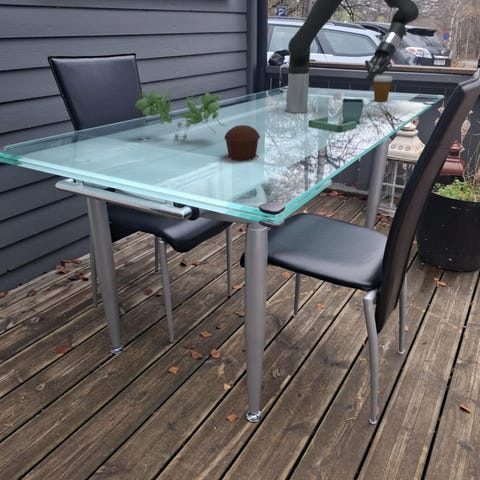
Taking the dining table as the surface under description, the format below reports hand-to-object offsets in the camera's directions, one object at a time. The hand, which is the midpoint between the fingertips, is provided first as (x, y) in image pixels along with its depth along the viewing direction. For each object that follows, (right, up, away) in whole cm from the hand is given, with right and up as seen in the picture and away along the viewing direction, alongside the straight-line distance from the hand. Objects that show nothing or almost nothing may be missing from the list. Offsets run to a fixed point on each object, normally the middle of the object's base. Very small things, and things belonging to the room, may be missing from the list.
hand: (368, 81), depth 192 cm
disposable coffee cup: (+19, +5, +44) cm, 48 cm away
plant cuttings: (-74, -27, -15) cm, 81 cm away
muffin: (-53, -39, -40) cm, 77 cm away
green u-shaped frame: (-16, -21, -6) cm, 27 cm away
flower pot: (-7, -17, +2) cm, 19 cm away
